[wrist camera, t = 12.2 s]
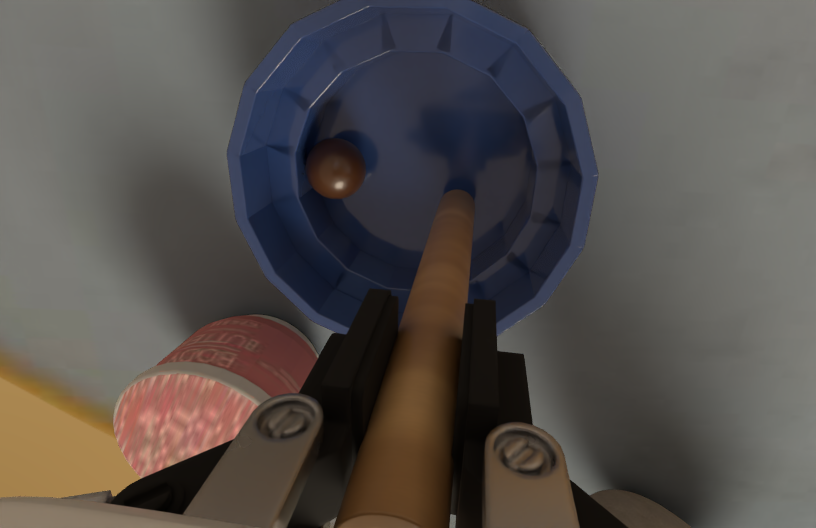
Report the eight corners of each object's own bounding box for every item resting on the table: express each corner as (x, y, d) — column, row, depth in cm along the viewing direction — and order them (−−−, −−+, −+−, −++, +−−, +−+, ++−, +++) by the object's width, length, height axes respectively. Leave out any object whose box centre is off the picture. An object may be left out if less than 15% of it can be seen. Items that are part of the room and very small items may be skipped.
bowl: (271, 3, 22) (203, -14, 17) (596, 8, 20) (636, -9, 15) (294, 282, 29) (250, 334, 23) (544, 306, 27) (559, 369, 21)
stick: (440, 187, 23) (326, 504, 7) (476, 190, 23) (450, 524, 6) (438, 222, 24) (332, 581, 7) (473, 224, 23) (442, 601, 7)
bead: (374, 146, 22) (360, 135, 24) (310, 142, 21) (302, 131, 23) (369, 207, 23) (356, 190, 25) (308, 206, 22) (301, 189, 24)
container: (179, 376, 33) (94, 464, 26) (223, 266, 29) (135, 335, 22) (306, 443, 34) (258, 547, 27) (368, 346, 30) (330, 438, 23)
